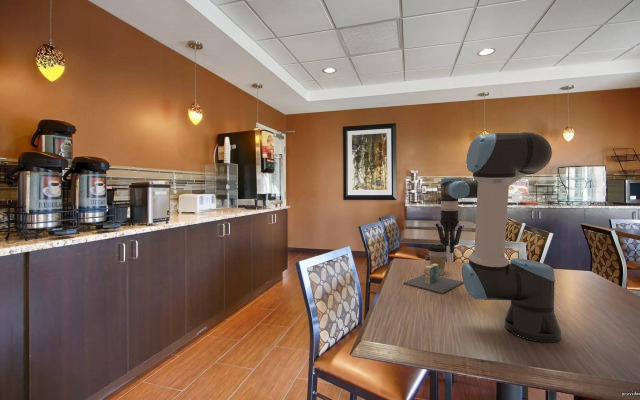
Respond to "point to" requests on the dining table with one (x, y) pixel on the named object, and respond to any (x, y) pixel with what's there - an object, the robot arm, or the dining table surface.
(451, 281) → the mat
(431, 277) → the tan and green block
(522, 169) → the robot arm
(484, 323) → the dining table surface
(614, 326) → the dining table surface
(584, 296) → the dining table surface
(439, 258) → the coffee cup
